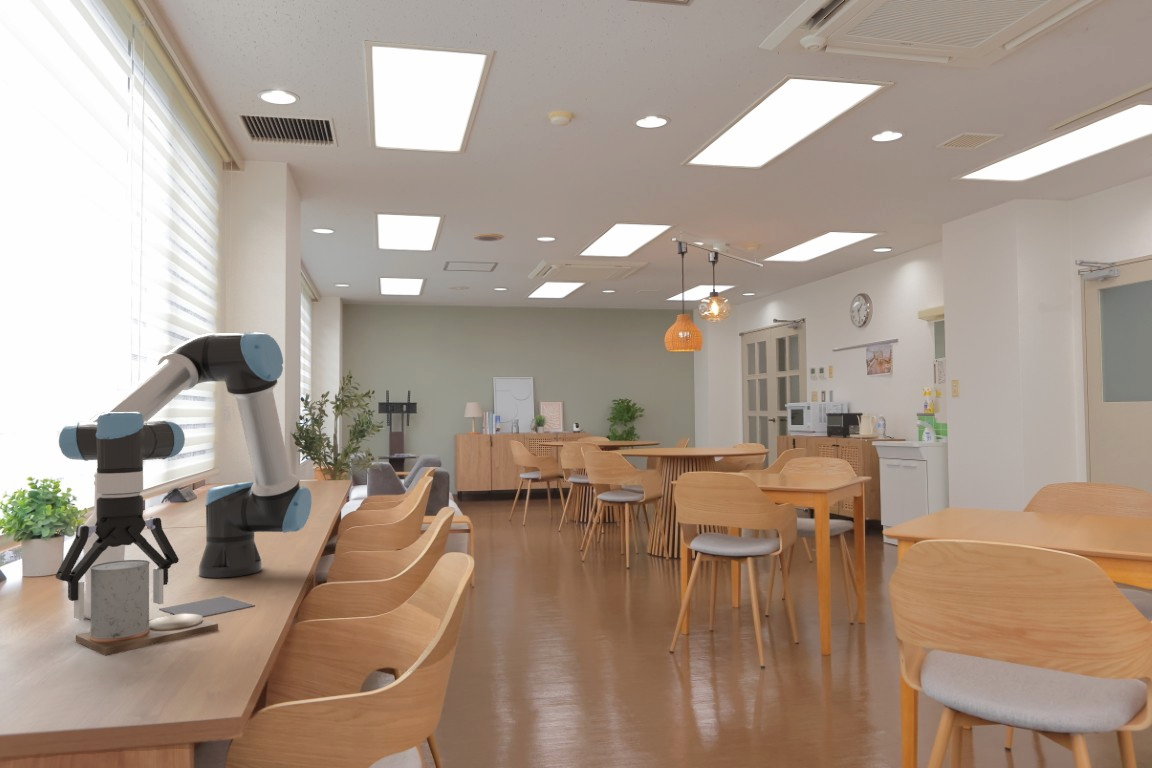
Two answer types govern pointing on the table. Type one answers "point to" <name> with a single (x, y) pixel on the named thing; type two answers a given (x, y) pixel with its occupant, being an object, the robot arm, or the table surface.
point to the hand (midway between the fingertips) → (120, 610)
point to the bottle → (106, 556)
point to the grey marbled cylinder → (119, 599)
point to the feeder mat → (208, 606)
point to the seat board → (152, 633)
